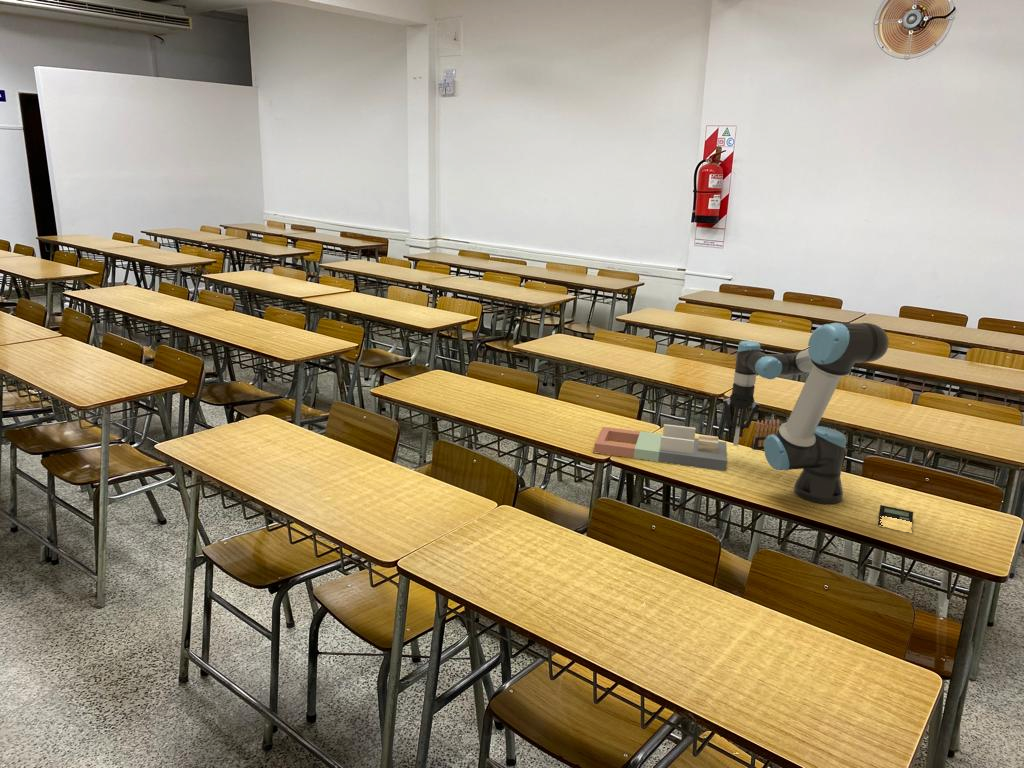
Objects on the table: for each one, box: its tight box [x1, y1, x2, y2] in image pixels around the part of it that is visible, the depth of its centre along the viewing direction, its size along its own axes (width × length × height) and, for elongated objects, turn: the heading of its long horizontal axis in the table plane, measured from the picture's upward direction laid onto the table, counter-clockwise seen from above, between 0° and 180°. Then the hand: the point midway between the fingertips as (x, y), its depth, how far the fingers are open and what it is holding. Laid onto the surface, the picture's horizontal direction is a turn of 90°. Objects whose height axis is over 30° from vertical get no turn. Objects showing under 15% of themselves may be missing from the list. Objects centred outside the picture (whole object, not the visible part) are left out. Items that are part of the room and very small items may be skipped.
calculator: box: [877, 504, 914, 526], centre depth 223 cm, size 9×12×3 cm
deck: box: [593, 424, 728, 472], centre depth 272 cm, size 20×48×9 cm, turn 74°
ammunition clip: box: [751, 418, 780, 451], centre depth 281 cm, size 11×2×12 cm, turn 103°
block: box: [697, 434, 719, 453], centre depth 268 cm, size 7×7×4 cm
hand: (735, 444), depth 265 cm, fingers closed
